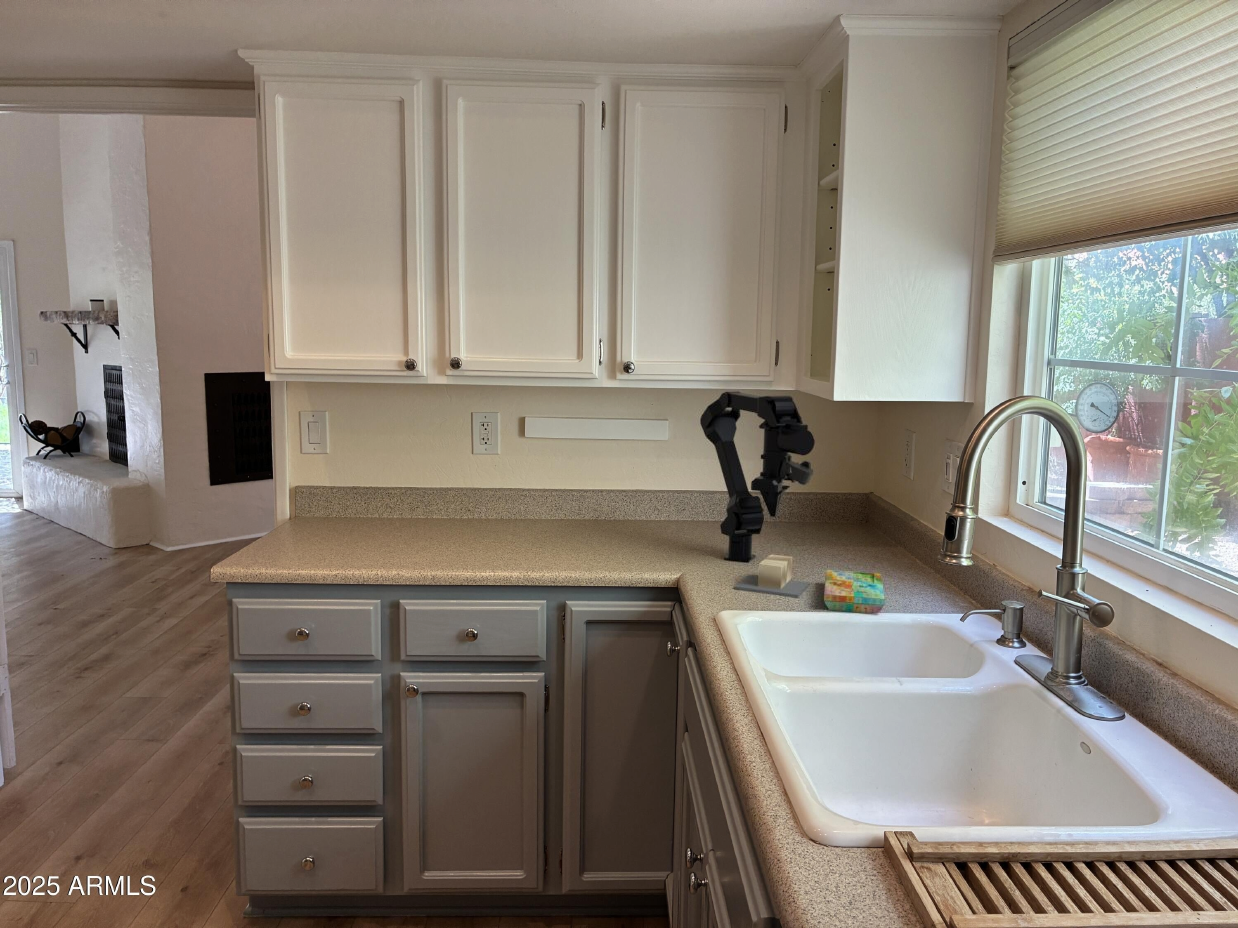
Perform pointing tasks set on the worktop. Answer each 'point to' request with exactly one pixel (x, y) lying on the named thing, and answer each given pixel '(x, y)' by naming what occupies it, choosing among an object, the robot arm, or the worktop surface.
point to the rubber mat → (788, 589)
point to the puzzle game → (853, 591)
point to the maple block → (775, 571)
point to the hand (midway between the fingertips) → (773, 516)
